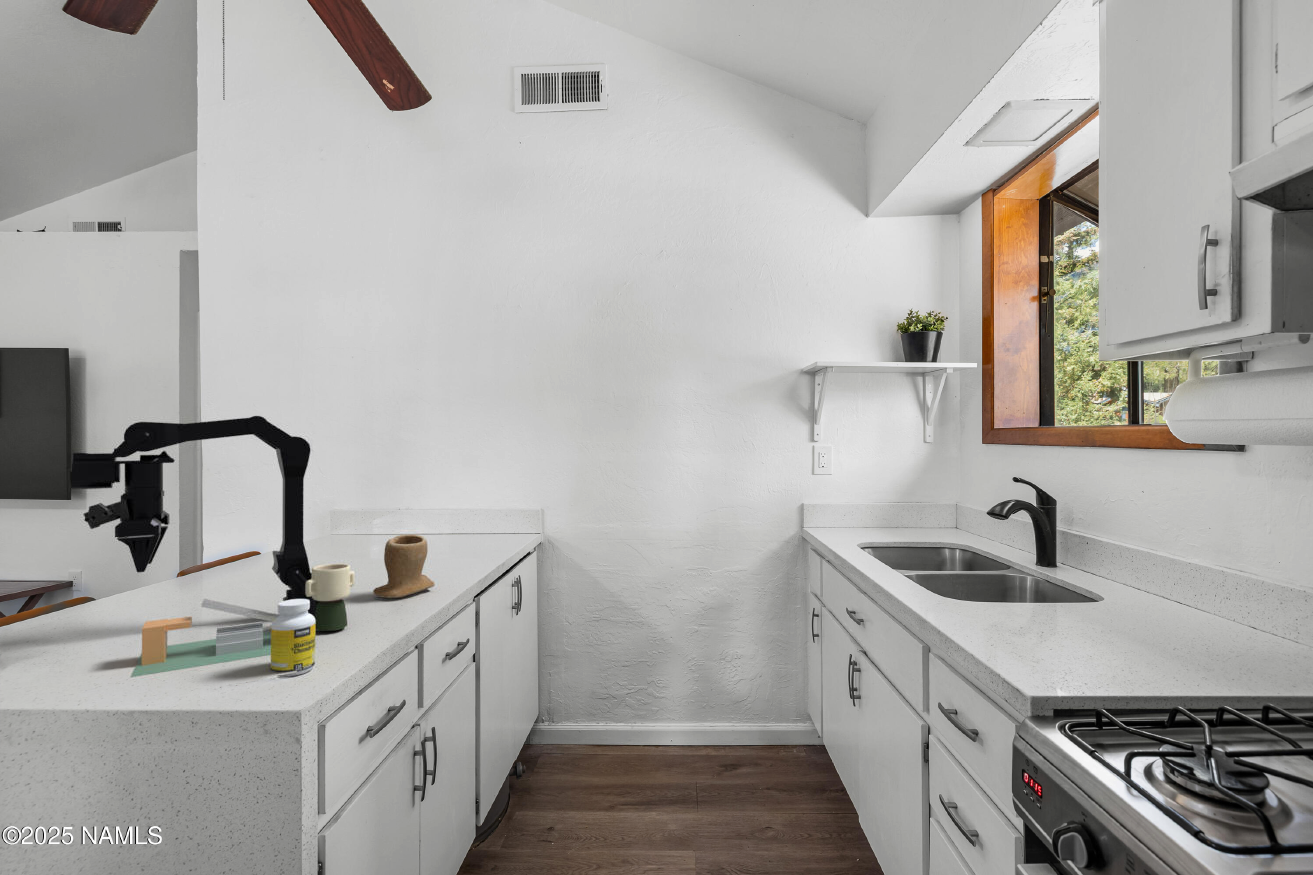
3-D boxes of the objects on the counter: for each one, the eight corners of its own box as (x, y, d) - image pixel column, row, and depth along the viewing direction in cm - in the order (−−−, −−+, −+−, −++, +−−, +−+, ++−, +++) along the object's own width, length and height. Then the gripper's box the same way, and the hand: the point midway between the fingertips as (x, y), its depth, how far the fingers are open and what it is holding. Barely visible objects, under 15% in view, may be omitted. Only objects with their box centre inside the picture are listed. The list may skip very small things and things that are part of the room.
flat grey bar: (282, 621, 120) (285, 614, 120) (283, 625, 117) (286, 619, 117) (201, 603, 113) (204, 597, 113) (200, 608, 110) (203, 601, 110)
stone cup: (400, 603, 149) (400, 541, 149) (366, 598, 154) (366, 537, 154) (447, 590, 162) (447, 532, 162) (414, 585, 168) (414, 529, 168)
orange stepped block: (191, 650, 112) (192, 615, 112) (189, 658, 108) (190, 622, 108) (145, 656, 109) (145, 621, 109) (141, 665, 105) (142, 628, 105)
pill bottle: (283, 681, 101) (283, 609, 101) (262, 673, 104) (263, 603, 104) (323, 668, 106) (323, 600, 106) (302, 661, 110) (302, 595, 110)
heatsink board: (290, 633, 126) (290, 600, 126) (296, 656, 112) (296, 620, 112) (143, 654, 113) (143, 618, 113) (130, 683, 100) (131, 642, 100)
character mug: (342, 621, 134) (342, 560, 134) (365, 625, 131) (365, 563, 131) (293, 635, 124) (294, 570, 125) (317, 640, 121) (318, 573, 121)
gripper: (98, 485, 123) (98, 564, 123) (76, 492, 108) (76, 582, 108) (169, 483, 129) (169, 558, 129) (158, 489, 114) (158, 574, 114)
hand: (144, 567), depth 120 cm, fingers open, 9 cm apart
